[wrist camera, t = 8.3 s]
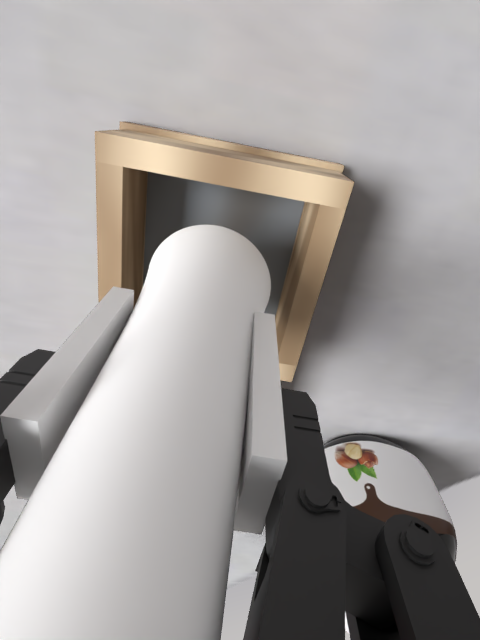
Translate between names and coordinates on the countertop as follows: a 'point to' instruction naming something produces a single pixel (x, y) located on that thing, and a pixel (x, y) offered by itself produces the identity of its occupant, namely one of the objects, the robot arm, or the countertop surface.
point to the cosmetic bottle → (147, 463)
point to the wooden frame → (219, 213)
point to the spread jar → (387, 483)
